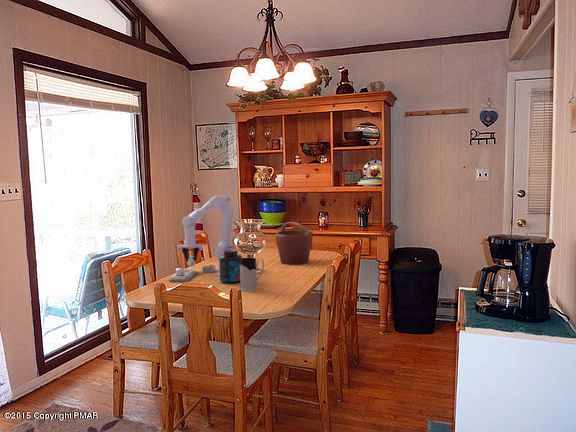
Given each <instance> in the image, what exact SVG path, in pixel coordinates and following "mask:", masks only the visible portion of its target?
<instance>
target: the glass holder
mask: <svg viewBox="0 0 576 432" xmlns="http://www.w3.org/2000/svg"><path fill="white" fill-rule="evenodd" d="M260 261H261V262H262V268H261V271H260V274H259V275H258V274H257V269H258V266H259V262H260ZM264 267H265V262H264V260H263V259H262V258H259V259H258V260H257V259H256V257H242V259H240V277H241V282H240V289H241V290H242V291H241V292H243V293H249V292H250V293H253V292H256V291H258V290H259V287H258V281H259V279H260V277H261V276H262V275H263V272H264V269H265V268H264Z"/></svg>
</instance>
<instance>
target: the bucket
mask: <svg viewBox="0 0 576 432" xmlns="http://www.w3.org/2000/svg"><path fill="white" fill-rule="evenodd" d="M290 224H293V225H295V226H297V227H299V228H300V229H301V230H299V229H290V230H286V228H287V226H289V225H290ZM275 241H276V245H277V250H278V254H279V259H280V263H281V264H283V265H288V266H299V265H300V266H301V265H305V264H307V263H309V259H310V253H311V249H312V241H313V232H312V231H310V230H309V229H308V228H306V227H305V226H304V225H303V224H301V223H299V222H296V221H289V222H288V221H287V222H286V223H284V224H283V225H282V226H281V228H280V231H276V233H275Z"/></svg>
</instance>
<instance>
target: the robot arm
mask: <svg viewBox="0 0 576 432" xmlns="http://www.w3.org/2000/svg"><path fill="white" fill-rule="evenodd" d="M232 205H233V204H232V199H231V198H230V196H229V195H227V194H223V195H214V196H213V197H211V198H210V199H209V200H208V201H207V202H206V203H205V204H204V205H203V206H202V207H201V208H195V209H193V211H192V212H191V213H188V215H187V216H184V217H183V218H182V220H181V224H182V226H183V227H184V229H183V230H184V244H178V245H177V249H178V250H181V252H182V254H183V255H184V257H185V261H186V262H188V257H189V249H192V252H193V256H194V261H195V262H197V257H198V253H199V251H200V249H204V244H196V225H197V223H198V222H199V221H200V220H201V219H202V218H204V216H205V214H206V213H207V212H208V211H210V210H212V209H213V208H216V209H217V210H219V211H220V213H222V219H221V229H220V230H221V233H220V239H219V240H220V241H219V243H218V244H217V248H216V250H215V252H214V253H215V257H216V258H217V261H218V272H217V273H216V274H215V275H218V276H219V277H220V266H219V257H220V256H221V255H223V251H224V250H234V248H233V245H234V244H233V243H232V242H231V238H232V230H233V229H232V228H233V227H232V226H233V219H234V218H233V217H234V208H233V206H232Z"/></svg>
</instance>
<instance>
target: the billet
mask: <svg viewBox="0 0 576 432" xmlns="http://www.w3.org/2000/svg"><path fill="white" fill-rule="evenodd" d="M187 265H188V267H194V266H196V261H194V255H190V256H189V255H188V261H187Z"/></svg>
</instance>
